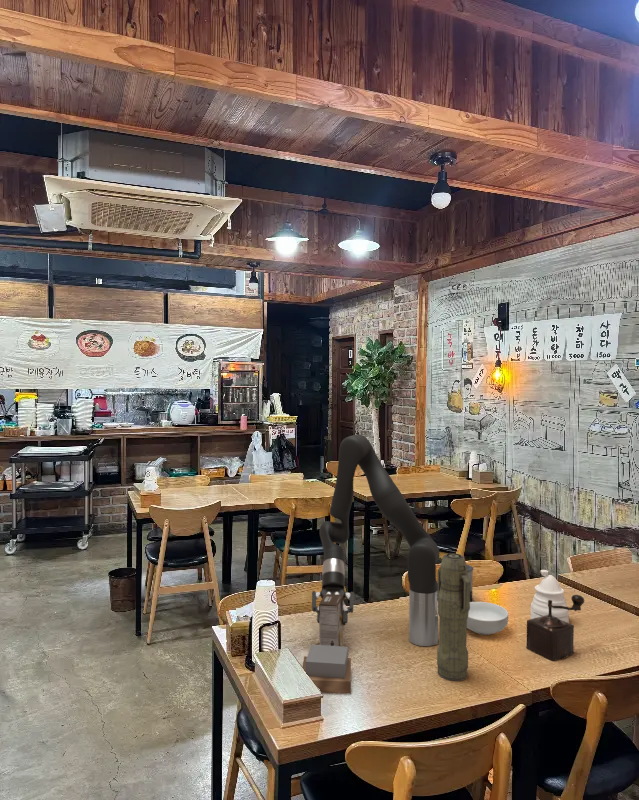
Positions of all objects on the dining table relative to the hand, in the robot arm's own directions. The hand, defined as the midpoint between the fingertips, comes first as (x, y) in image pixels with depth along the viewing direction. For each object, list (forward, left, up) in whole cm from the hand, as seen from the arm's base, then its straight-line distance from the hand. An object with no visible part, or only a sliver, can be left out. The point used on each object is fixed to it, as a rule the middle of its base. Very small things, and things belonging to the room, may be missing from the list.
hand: (332, 624), depth 184 cm
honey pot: (-78, -31, -9) cm, 84 cm away
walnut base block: (+1, +17, -10) cm, 20 cm away
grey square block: (+1, +17, -6) cm, 18 cm away
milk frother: (-45, -47, -9) cm, 66 cm away
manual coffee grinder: (-72, -7, -9) cm, 73 cm away
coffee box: (0, 0, -8) cm, 8 cm away
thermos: (-36, +11, -9) cm, 39 cm away
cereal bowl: (-52, -21, -9) cm, 57 cm away
